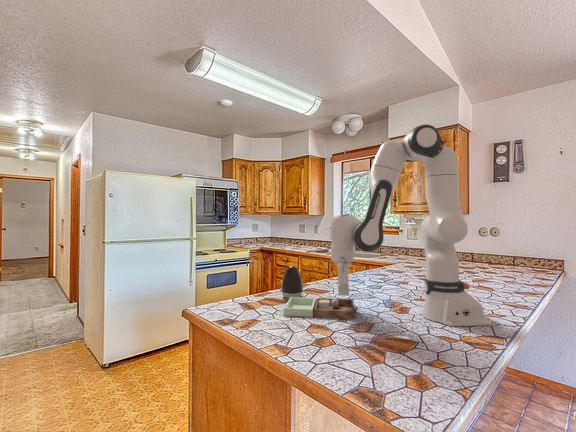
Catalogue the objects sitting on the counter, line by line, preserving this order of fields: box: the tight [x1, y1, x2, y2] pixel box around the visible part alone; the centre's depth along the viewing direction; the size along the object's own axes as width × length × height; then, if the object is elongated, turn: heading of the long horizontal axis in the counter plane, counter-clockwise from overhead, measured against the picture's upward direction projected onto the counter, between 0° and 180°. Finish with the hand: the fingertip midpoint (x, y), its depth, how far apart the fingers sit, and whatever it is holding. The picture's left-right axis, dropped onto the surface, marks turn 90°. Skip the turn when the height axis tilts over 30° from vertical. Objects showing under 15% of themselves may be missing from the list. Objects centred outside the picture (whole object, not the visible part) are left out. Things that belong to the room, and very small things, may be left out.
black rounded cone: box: [280, 265, 304, 300], centre depth 140 cm, size 10×10×15 cm
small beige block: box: [337, 283, 350, 297], centre depth 117 cm, size 4×4×4 cm
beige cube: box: [319, 300, 330, 310], centre depth 118 cm, size 4×4×4 cm
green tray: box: [283, 296, 317, 318], centre depth 121 cm, size 11×16×4 cm
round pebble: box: [331, 298, 339, 308], centre depth 123 cm, size 3×3×3 cm
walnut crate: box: [313, 297, 356, 320], centre depth 119 cm, size 15×16×4 cm
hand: (343, 291), depth 117 cm, fingers closed on small beige block, 4 cm apart
